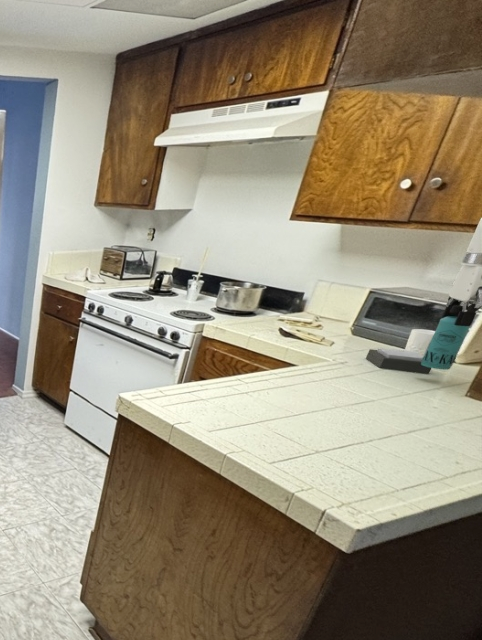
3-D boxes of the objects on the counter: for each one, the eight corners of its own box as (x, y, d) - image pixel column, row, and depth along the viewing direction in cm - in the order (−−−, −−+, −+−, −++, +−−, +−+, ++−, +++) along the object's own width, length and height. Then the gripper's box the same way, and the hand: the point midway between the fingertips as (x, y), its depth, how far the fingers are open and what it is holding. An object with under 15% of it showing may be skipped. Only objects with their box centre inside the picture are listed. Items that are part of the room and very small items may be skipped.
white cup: (417, 356, 168) (429, 329, 164) (438, 363, 161) (452, 335, 157) (393, 355, 169) (405, 328, 165) (413, 362, 161) (426, 334, 158)
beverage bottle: (416, 366, 147) (443, 302, 140) (446, 370, 143) (477, 305, 136) (419, 371, 142) (448, 306, 135) (451, 376, 138) (483, 309, 131)
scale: (411, 363, 160) (415, 354, 158) (428, 374, 150) (433, 363, 148) (365, 358, 165) (369, 349, 163) (379, 368, 155) (383, 358, 153)
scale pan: (411, 356, 158) (413, 351, 157) (424, 363, 150) (426, 358, 150) (376, 352, 162) (378, 347, 161) (387, 359, 154) (389, 354, 154)
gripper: (523, 264, 122) (491, 331, 128) (483, 257, 136) (456, 318, 143) (482, 262, 125) (453, 328, 131) (448, 256, 139) (423, 316, 146)
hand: (455, 322), depth 137 cm, fingers closed on beverage bottle, 6 cm apart
